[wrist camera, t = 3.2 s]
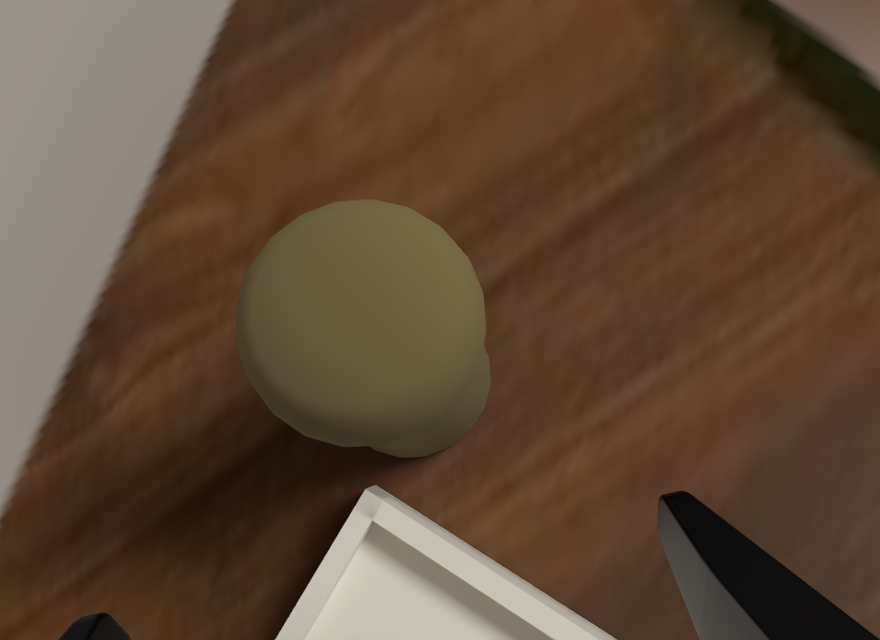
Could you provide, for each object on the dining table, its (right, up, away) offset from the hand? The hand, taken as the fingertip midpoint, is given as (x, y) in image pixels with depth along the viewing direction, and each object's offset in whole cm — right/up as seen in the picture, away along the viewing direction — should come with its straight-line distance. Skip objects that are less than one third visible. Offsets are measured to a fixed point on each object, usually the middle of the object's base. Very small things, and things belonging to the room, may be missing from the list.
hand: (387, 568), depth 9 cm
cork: (0, +2, +12) cm, 12 cm away
